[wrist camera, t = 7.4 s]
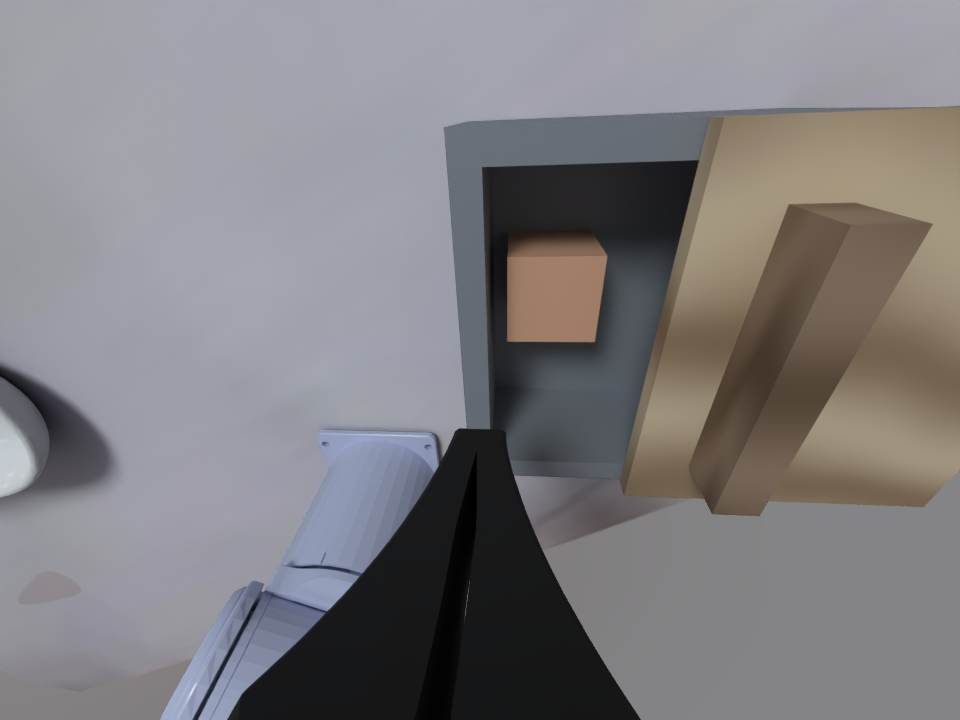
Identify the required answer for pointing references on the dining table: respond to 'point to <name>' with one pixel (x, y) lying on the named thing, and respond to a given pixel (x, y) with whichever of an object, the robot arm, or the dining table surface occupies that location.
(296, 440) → the dining table surface
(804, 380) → the lid
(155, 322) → the dining table surface
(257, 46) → the dining table surface
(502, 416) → the box
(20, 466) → the spoon rest
